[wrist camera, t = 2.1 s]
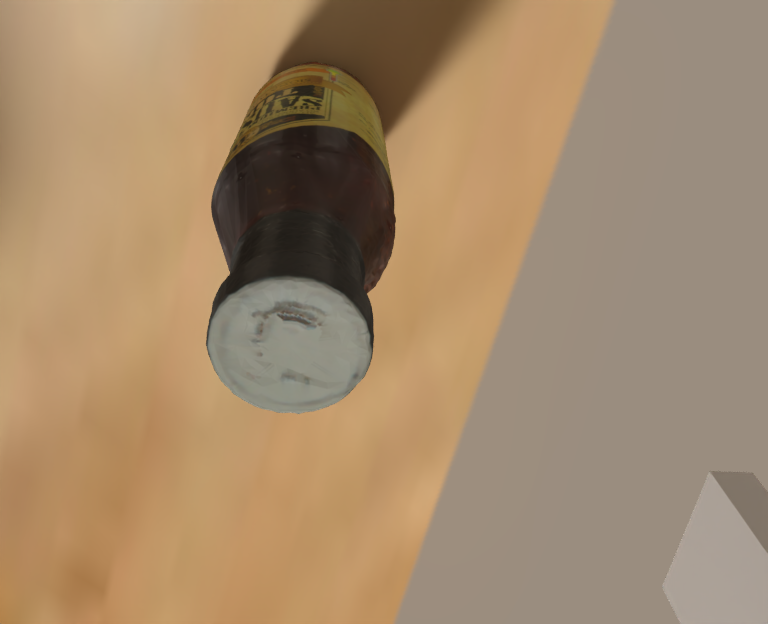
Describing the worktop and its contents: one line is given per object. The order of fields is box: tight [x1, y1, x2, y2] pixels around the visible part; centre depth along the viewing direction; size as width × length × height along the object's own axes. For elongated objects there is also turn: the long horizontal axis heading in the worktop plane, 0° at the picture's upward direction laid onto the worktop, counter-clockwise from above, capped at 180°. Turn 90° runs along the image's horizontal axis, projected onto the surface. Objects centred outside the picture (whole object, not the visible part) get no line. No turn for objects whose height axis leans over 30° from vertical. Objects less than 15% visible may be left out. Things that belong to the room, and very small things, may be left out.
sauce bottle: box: [206, 62, 396, 414], centre depth 25 cm, size 7×6×20 cm
